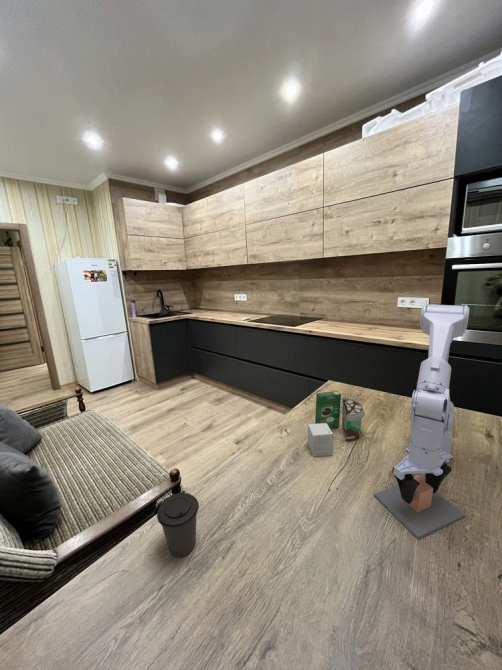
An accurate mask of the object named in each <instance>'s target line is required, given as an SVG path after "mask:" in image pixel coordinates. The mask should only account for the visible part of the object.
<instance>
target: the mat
mask: <svg viewBox="0 0 502 670" xmlns="http://www.w3.org/2000/svg"><path fill="white" fill-rule="evenodd" d="M373 497H374V498H375V499H376V500H377V501H378V502H379V503H380V504H381V505H383V507H384V508H385V509H386V510H388V512H389V513H390V514H391V515H392V516H394V518H395V519H396V520H398V522H399V523H401V525H403V527H405V528H406V529H407V531H409V532H410V534H412V536H414V537H415V539H416V540H420V539H423V538H424V537H426V536H428V535H430V534H432V533H434V532H437V531H439V530H441V529H443V528H445V527H447V526H449V525H451V524H453V523H456V522H458V521H460V520H462V519H464V518H466V513H464V512H463V511H462V510H460V509H459V508H457V506H455V505H454V504H452V503H451V502H450V501H449V500H447V499H446V498H445V497H443V496H442V495H441V494H440V493H438V491H437V492H436V493H432V501H431V507H429V508H427V509H424V510H422V511H420V512H417V511H416V510H414V509H413V508H412V507H411V506H410V505H409V504H408V503H406V502H405V501H404V500H403V499H402V498H401V493H400V489H399V485H398V484H397V485H393V486H392V487H389V488H385V489H384V490H381V491H378V492H375V493H373Z"/></svg>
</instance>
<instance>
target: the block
mask: <svg viewBox="0 0 502 670" xmlns="http://www.w3.org/2000/svg"><path fill="white" fill-rule="evenodd" d="M414 479H415V480H416V481H418V482H419V483H420V485H419V486H418V487H417V488H416V490H415V492H414V496H413V500H412V502H411V503H410V504H409V505H410V506H411V507H412V508H413V509H414V510H416V511H417V512H420V511H422V510H424V509H427V508H429V507H431V501H432V493H433V488H432V487H431V486H430V485H428V484H427V483H426V482H425V480H423V479H422V478H420V477H419V476H418V475H417V476H414ZM405 502H406V501H405ZM406 503H407V502H406Z"/></svg>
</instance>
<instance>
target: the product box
mask: <svg viewBox="0 0 502 670" xmlns="http://www.w3.org/2000/svg"><path fill="white" fill-rule="evenodd" d="M307 446H308V448H309V450H310V452H311V453H310V454H311V455H312V457H325V456H333V449H334V433H333V432H332V429H330V428H329V426H328V425H327V423H321V424H315V423H308V424H307Z"/></svg>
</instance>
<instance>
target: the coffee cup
mask: <svg viewBox="0 0 502 670" xmlns="http://www.w3.org/2000/svg"><path fill="white" fill-rule="evenodd" d="M199 509H200V506H199V501H198V499H197V498H196V497H195V496H194V495H193V494H190V493H188V492H179V493H175V494H172V495H170V496H169V497H167V498H165V499H164V500H163V501H162V503H161V504H160V506H159V508H158V509H157V513H156V518H157V521H158V523H159V524H160V525H161V527H162V530H163V533H164V537H165V541H166V544H167V547H168V551H169V553H170V555H171V556H172V557H174V558H179V559H181V558H184V557H185V558H186V557H187V556H188V555H190V554H191V553H193V550H194V549H195V546H196V543H197V542H196V541H197V538H196V537H197V514H198V511H199Z"/></svg>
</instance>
